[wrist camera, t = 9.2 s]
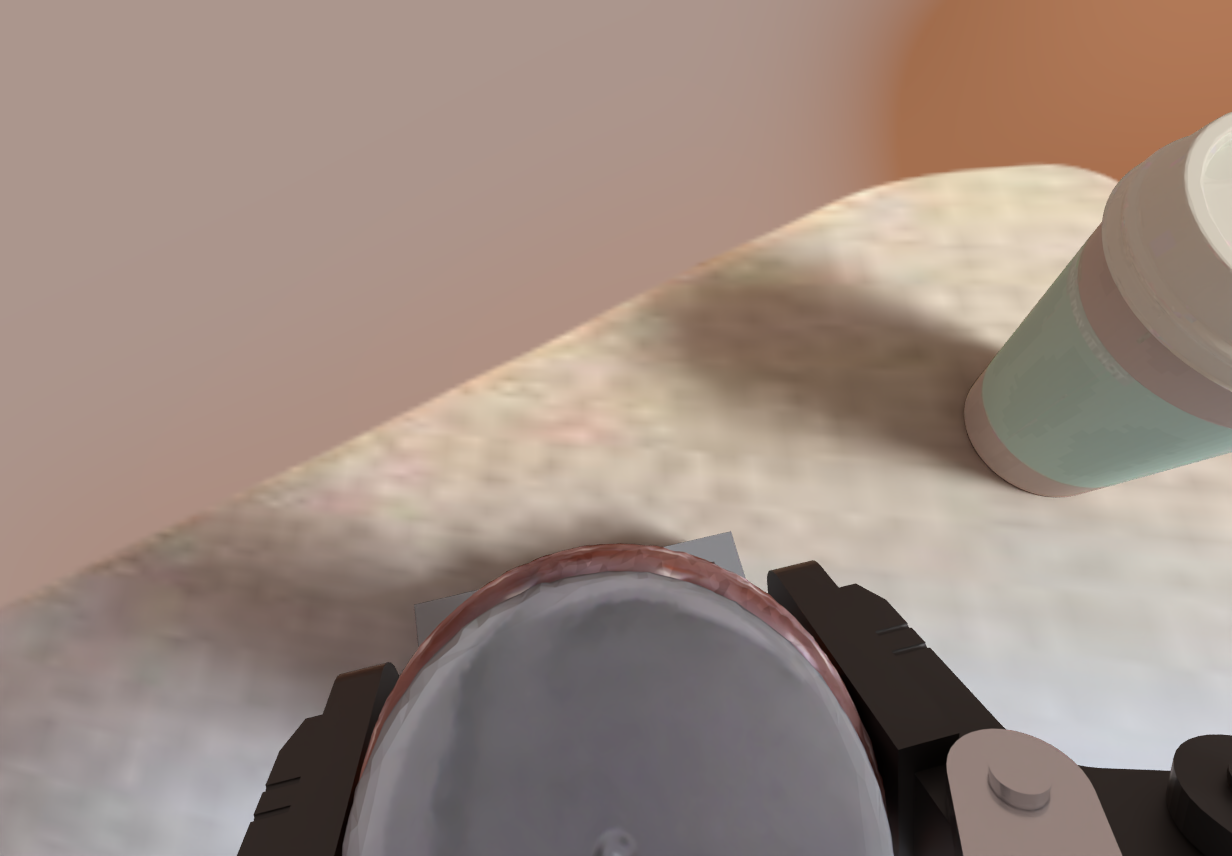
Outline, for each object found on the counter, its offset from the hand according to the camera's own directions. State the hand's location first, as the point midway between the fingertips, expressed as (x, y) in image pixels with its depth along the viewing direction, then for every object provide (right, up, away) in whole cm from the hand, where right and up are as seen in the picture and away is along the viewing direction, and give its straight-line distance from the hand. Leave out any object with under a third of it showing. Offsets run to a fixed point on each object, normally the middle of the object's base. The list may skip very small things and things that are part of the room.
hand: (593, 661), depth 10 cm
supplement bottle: (0, -4, +5) cm, 6 cm away
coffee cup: (+17, +4, +16) cm, 23 cm away
